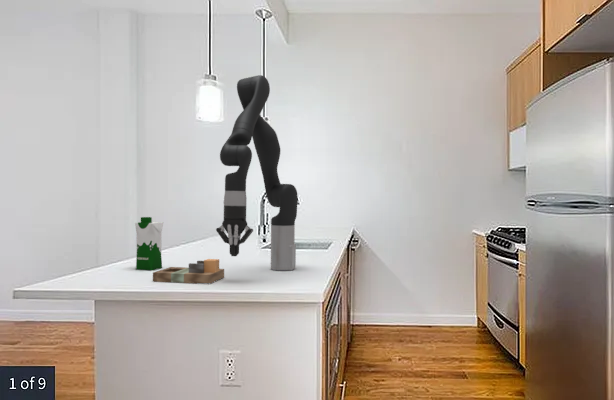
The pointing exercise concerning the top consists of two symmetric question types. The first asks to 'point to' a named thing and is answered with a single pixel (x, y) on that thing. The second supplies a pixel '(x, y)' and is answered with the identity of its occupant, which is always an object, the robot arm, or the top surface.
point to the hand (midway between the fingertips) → (234, 255)
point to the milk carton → (148, 244)
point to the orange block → (211, 265)
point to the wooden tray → (187, 274)
